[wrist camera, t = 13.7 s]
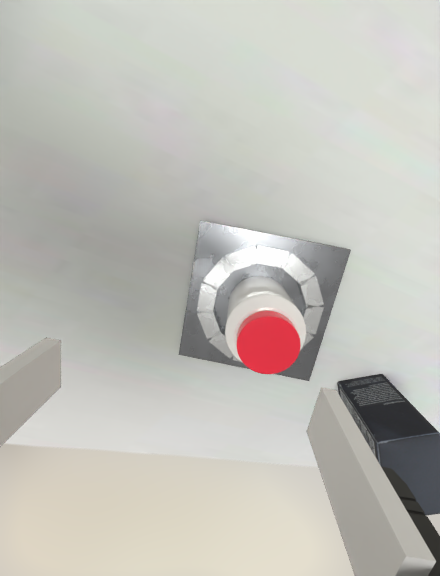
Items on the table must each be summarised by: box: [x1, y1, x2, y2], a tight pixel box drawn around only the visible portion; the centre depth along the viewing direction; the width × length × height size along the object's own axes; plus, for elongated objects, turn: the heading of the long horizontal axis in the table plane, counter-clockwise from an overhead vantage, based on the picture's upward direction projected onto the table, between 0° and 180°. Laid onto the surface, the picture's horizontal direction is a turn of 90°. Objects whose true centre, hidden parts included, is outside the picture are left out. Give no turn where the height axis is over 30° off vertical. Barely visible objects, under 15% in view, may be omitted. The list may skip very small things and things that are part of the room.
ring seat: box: [179, 221, 351, 381], centre depth 33 cm, size 18×18×2 cm
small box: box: [338, 374, 440, 515], centre depth 32 cm, size 11×6×10 cm, turn 15°
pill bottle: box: [225, 276, 306, 374], centre depth 28 cm, size 8×8×11 cm
